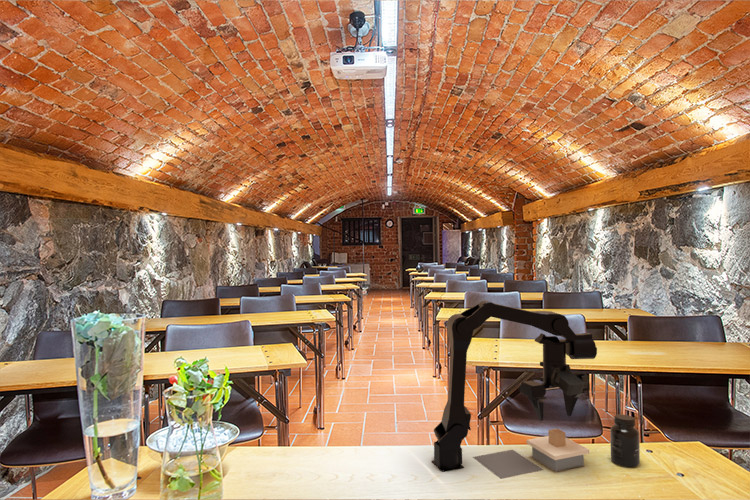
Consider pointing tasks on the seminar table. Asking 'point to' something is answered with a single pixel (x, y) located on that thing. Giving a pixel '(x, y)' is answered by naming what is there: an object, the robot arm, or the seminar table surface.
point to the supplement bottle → (625, 441)
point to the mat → (507, 464)
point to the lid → (557, 445)
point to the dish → (558, 461)
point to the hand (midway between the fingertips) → (555, 418)
